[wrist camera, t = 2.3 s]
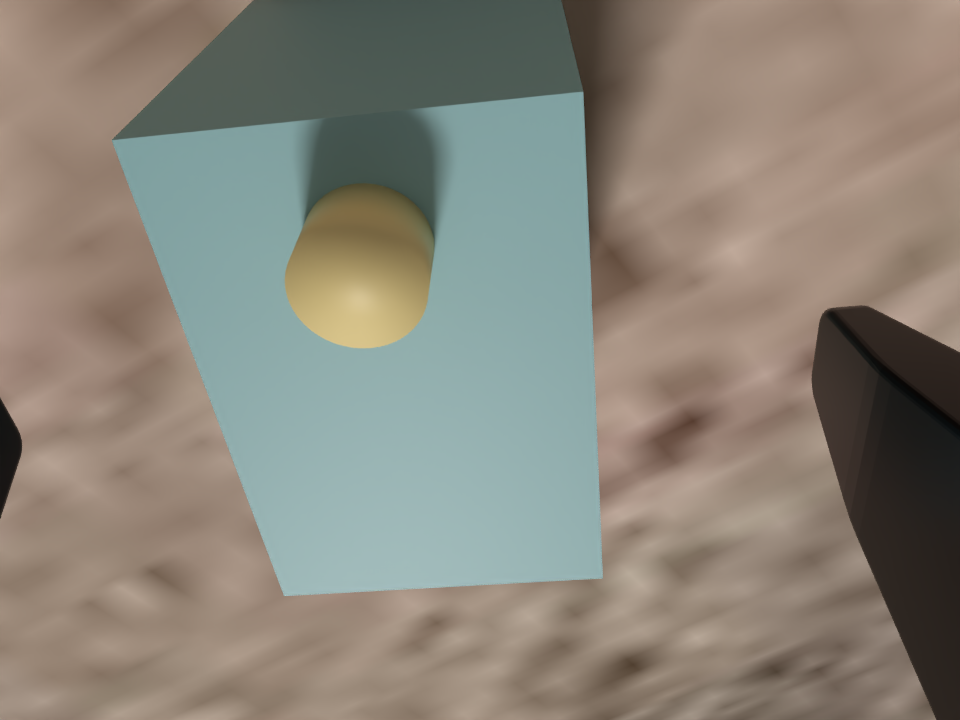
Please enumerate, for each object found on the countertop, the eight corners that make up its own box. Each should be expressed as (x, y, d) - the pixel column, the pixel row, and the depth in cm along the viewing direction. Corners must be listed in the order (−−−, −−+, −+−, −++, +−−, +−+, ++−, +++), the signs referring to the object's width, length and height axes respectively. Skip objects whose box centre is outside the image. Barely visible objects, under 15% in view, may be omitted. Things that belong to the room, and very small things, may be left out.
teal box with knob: (570, 314, 15) (609, 633, 10) (352, 331, 16) (270, 650, 10) (549, -49, 12) (591, 125, 6) (269, -16, 12) (73, 179, 7)
